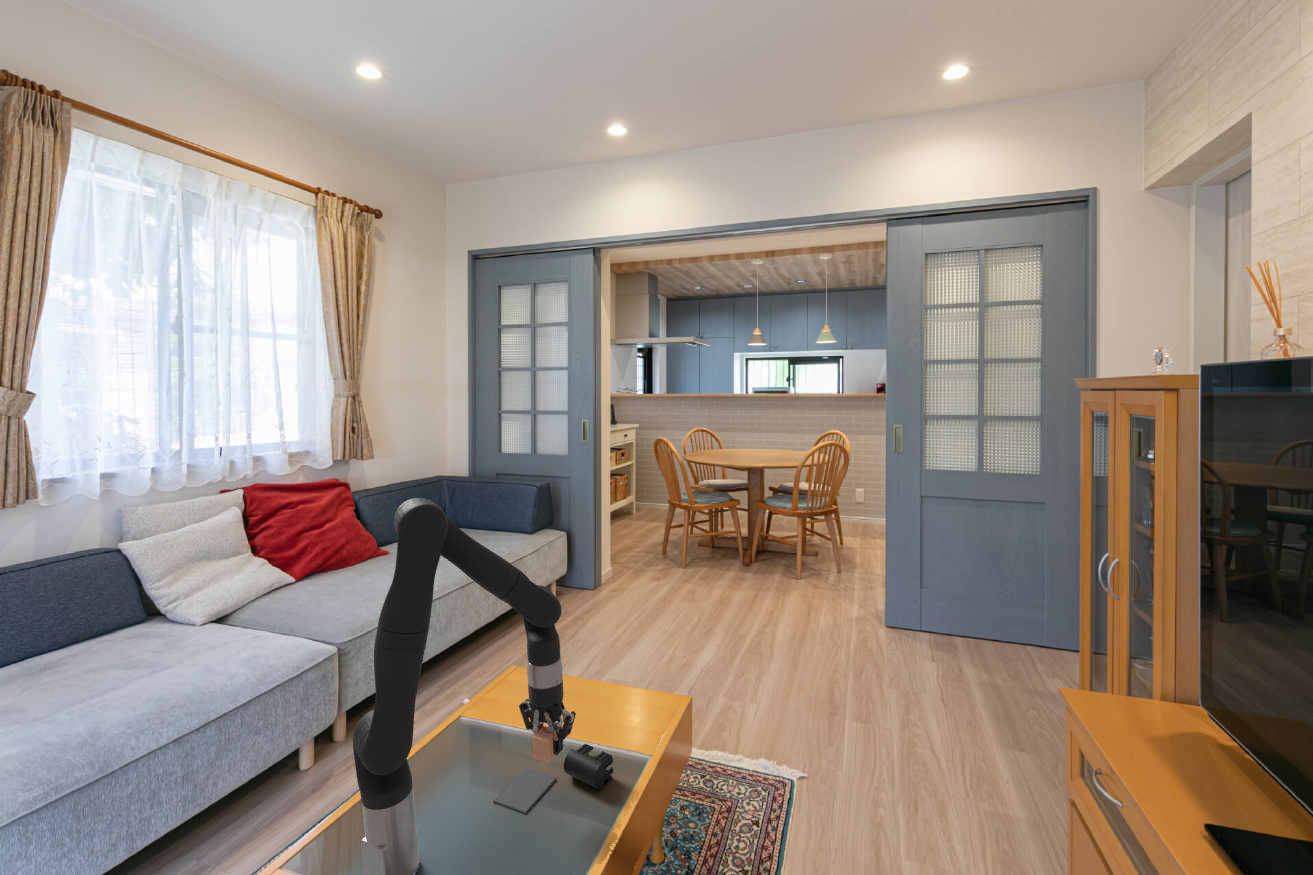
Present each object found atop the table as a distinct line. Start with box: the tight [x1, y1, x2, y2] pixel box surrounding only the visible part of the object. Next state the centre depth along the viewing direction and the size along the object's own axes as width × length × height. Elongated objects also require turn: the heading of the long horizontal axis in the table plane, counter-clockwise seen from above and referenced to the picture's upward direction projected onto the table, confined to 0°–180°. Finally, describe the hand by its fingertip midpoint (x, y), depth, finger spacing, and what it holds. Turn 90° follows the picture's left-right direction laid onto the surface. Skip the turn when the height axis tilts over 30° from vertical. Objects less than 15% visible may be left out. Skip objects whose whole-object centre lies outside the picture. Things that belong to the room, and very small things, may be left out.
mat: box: [492, 767, 557, 815], centre depth 145 cm, size 12×9×1 cm
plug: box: [531, 723, 563, 764], centre depth 138 cm, size 9×4×5 cm, turn 155°
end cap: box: [563, 743, 614, 791], centre depth 147 cm, size 10×7×7 cm
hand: (549, 749), depth 137 cm, fingers closed on plug, 4 cm apart
